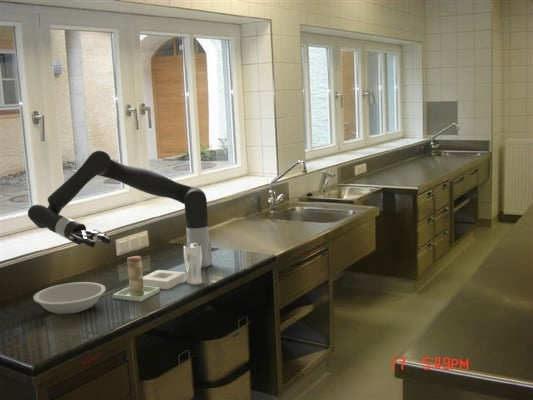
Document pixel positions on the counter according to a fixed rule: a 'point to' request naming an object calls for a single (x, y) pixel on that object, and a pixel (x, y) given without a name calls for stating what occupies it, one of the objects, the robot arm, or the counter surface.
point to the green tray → (126, 296)
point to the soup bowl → (69, 297)
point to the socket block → (164, 279)
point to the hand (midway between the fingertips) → (102, 243)
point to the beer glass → (193, 263)
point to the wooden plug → (135, 276)
